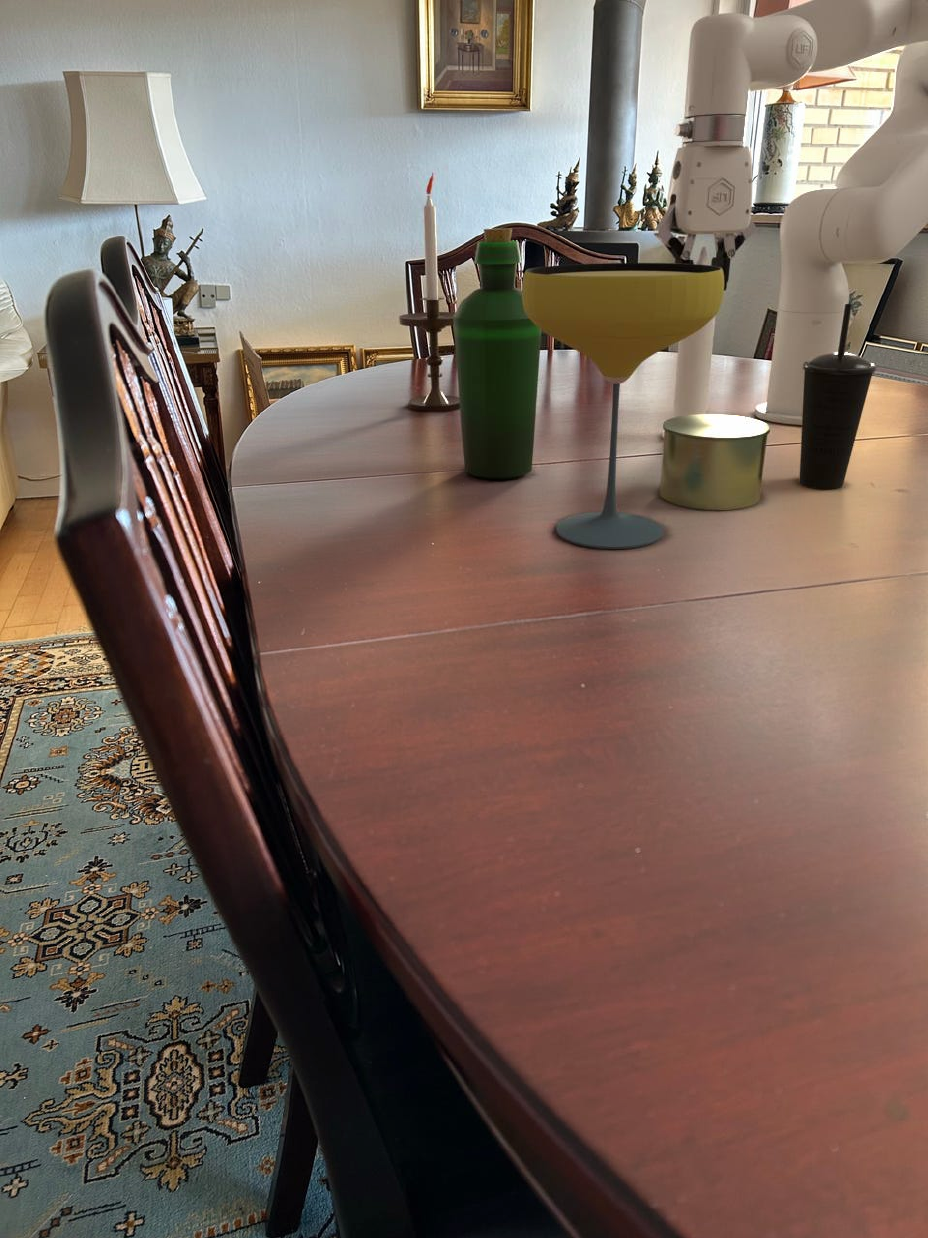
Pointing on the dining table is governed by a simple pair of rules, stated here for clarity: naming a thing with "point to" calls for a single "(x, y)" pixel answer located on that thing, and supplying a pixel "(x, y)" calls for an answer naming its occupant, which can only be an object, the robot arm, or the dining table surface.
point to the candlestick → (431, 318)
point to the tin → (713, 461)
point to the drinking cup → (832, 412)
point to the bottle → (497, 366)
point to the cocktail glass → (619, 349)
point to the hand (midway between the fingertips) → (700, 289)
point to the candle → (694, 367)
